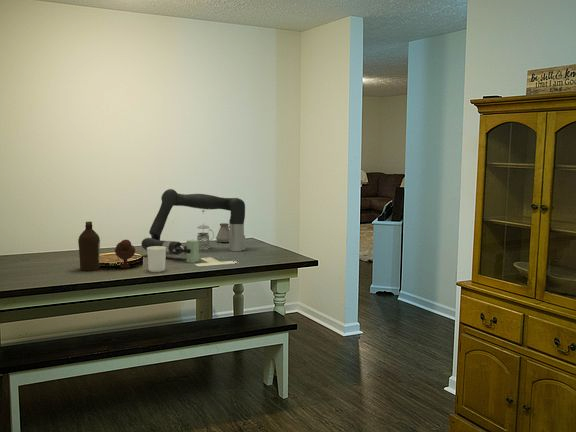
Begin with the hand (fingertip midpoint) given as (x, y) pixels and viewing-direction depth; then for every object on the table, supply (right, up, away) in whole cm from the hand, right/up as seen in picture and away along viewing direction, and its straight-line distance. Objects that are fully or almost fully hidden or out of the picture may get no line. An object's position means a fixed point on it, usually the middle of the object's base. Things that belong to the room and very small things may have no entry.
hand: (194, 250), depth 320 cm
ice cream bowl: (-34, -8, -17) cm, 39 cm away
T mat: (+10, -6, +2) cm, 12 cm away
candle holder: (-16, -9, -24) cm, 31 cm away
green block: (-1, -6, +1) cm, 7 cm away
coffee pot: (+11, +1, +67) cm, 68 cm away
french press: (-1, -2, +45) cm, 45 cm away
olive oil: (-51, -9, -25) cm, 57 cm away
